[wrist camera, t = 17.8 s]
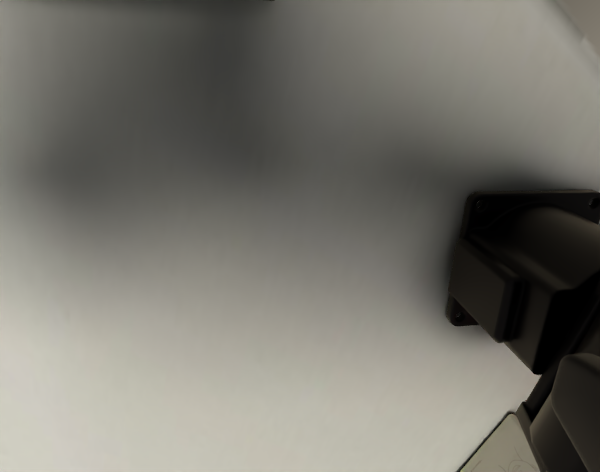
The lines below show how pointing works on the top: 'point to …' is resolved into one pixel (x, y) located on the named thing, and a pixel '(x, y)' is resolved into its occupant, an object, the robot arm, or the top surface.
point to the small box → (504, 451)
